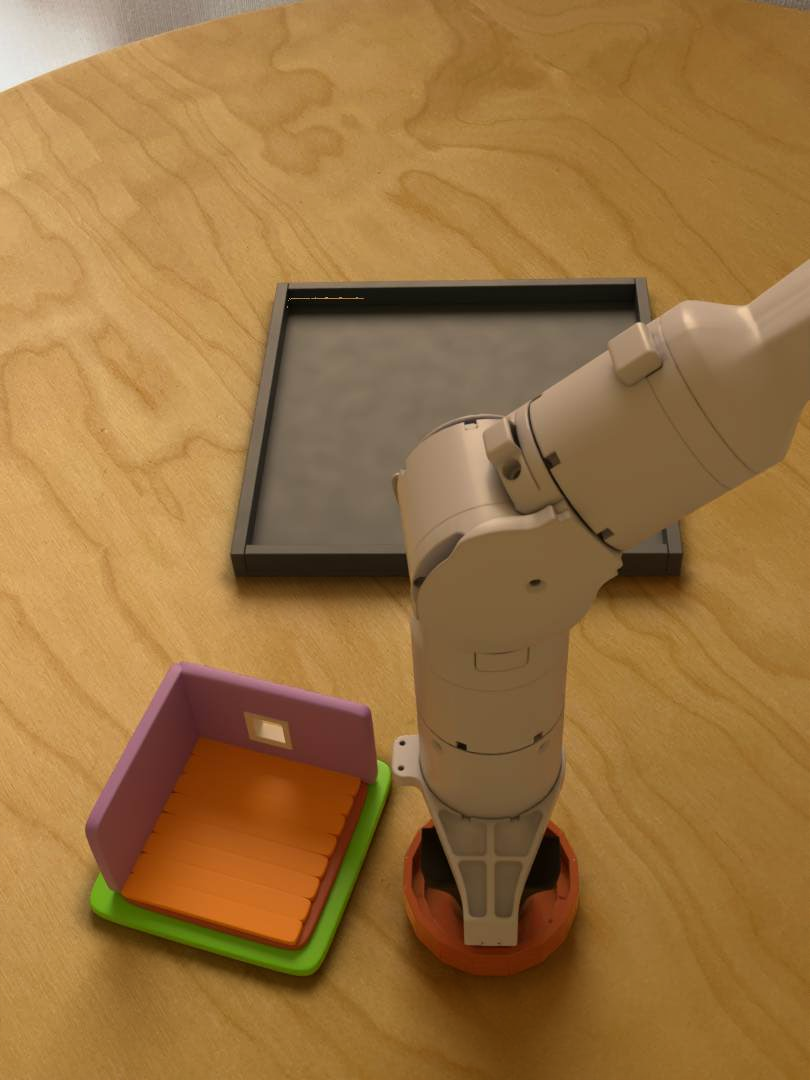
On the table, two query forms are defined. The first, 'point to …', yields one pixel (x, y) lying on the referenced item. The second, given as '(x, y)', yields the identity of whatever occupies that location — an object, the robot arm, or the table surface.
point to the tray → (403, 405)
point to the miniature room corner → (239, 818)
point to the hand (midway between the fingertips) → (490, 868)
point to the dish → (446, 941)
